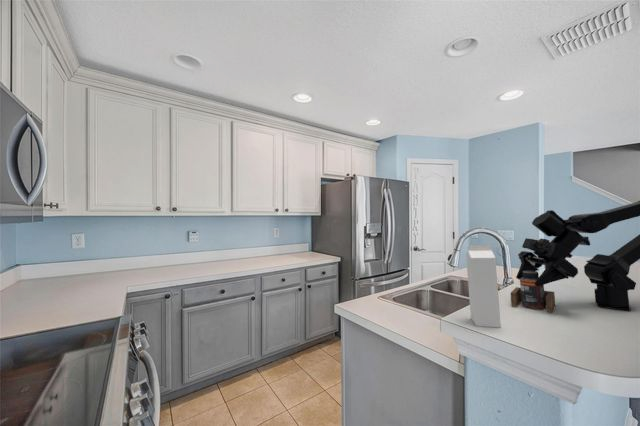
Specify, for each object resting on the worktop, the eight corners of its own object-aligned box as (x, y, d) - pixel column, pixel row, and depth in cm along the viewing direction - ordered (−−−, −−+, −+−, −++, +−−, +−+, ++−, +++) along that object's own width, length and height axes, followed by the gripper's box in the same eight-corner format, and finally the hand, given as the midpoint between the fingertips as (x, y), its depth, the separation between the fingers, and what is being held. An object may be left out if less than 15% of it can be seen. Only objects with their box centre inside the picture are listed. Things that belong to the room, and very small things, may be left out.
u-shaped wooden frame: (555, 305, 82) (554, 291, 82) (552, 313, 76) (550, 298, 77) (517, 300, 90) (516, 287, 90) (511, 306, 84) (510, 292, 84)
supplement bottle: (544, 305, 83) (541, 270, 84) (547, 311, 78) (543, 274, 79) (521, 302, 87) (518, 269, 87) (522, 308, 82) (519, 272, 82)
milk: (470, 318, 76) (464, 244, 77) (494, 319, 74) (487, 243, 75) (476, 326, 70) (469, 246, 72) (501, 328, 69) (494, 245, 70)
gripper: (521, 228, 92) (491, 260, 93) (562, 230, 74) (523, 270, 75) (548, 249, 91) (516, 281, 92) (596, 257, 72) (556, 296, 73)
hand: (526, 281), depth 83 cm, fingers open, 9 cm apart
